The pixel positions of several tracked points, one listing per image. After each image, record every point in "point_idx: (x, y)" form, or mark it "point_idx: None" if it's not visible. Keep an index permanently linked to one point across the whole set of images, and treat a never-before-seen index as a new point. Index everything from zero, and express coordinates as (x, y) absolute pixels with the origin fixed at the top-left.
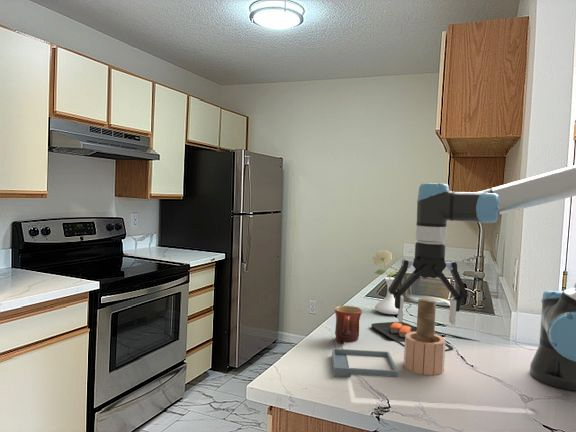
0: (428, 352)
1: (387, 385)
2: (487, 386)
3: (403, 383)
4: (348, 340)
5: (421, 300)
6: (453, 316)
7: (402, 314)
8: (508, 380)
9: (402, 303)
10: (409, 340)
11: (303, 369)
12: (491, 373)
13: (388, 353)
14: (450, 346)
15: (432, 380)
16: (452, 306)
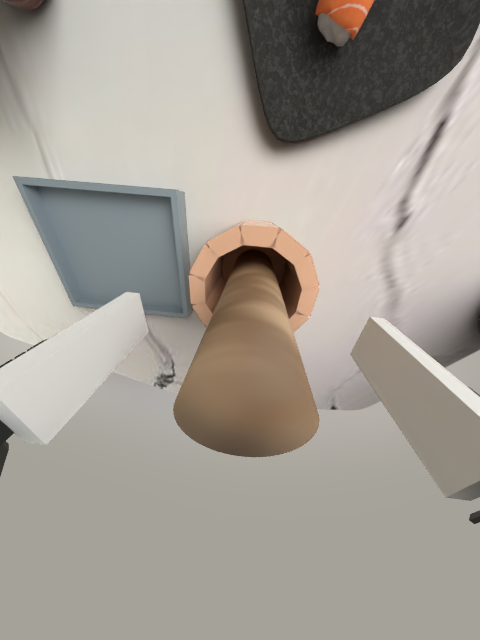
0: None
1: (174, 327)
2: (344, 328)
3: (200, 321)
4: (14, 2)
5: (196, 422)
6: (374, 383)
7: (127, 353)
8: (413, 305)
9: (78, 400)
10: (197, 312)
11: (23, 272)
12: (409, 272)
13: (174, 207)
14: (477, 14)
15: None
16: (412, 427)
